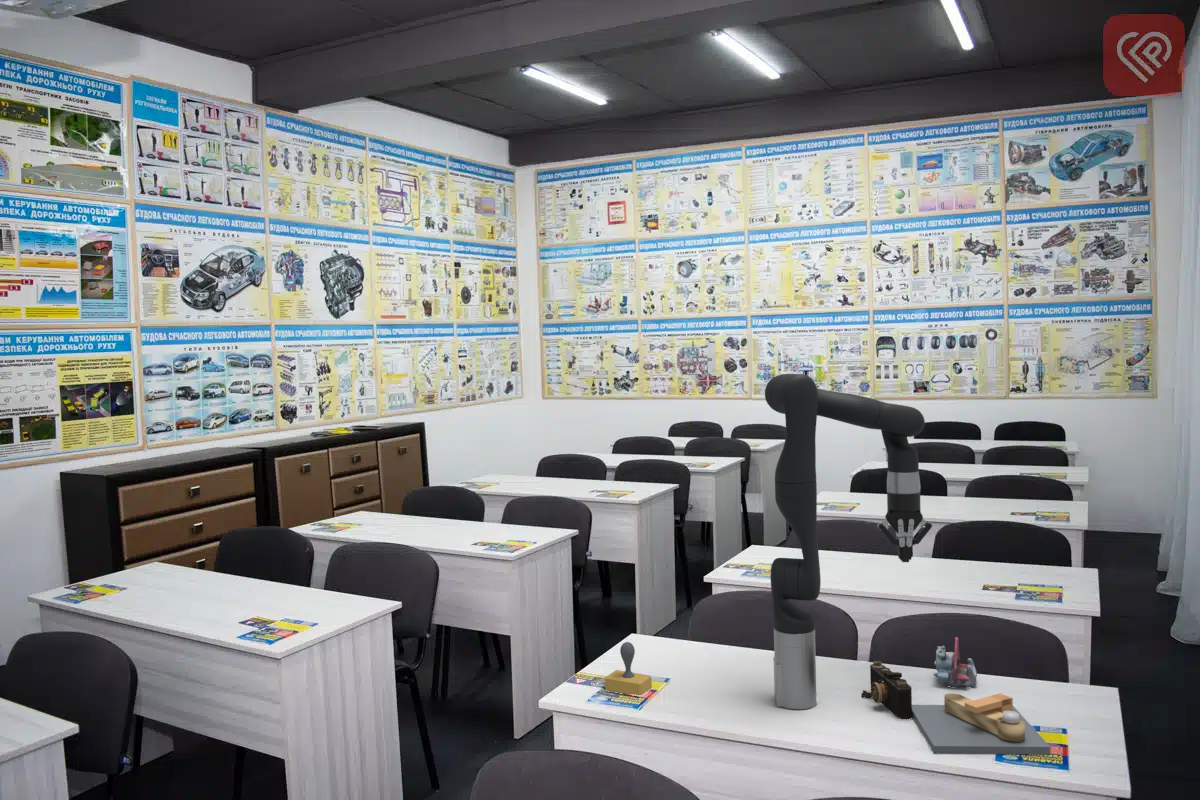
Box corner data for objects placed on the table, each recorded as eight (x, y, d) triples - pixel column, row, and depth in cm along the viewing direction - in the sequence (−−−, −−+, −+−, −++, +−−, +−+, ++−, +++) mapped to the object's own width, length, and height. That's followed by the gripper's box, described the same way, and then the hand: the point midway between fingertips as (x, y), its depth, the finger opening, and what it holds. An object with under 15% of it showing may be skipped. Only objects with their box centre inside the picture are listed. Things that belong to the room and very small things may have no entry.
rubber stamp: (652, 690, 218) (650, 641, 218) (641, 698, 213) (639, 648, 213) (616, 684, 223) (614, 636, 223) (604, 692, 218) (603, 643, 218)
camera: (856, 693, 212) (855, 660, 211) (883, 691, 212) (883, 657, 212) (887, 721, 195) (886, 685, 195) (916, 719, 196) (916, 683, 196)
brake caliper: (987, 684, 208) (952, 640, 210) (947, 708, 212) (913, 664, 214) (988, 668, 218) (955, 626, 221) (949, 690, 222) (917, 649, 225)
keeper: (1001, 718, 191) (1000, 693, 191) (1013, 723, 188) (1012, 697, 188) (965, 728, 187) (964, 702, 186) (976, 734, 184) (976, 707, 184)
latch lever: (1030, 738, 180) (1030, 723, 180) (1012, 743, 178) (1011, 728, 178) (956, 705, 198) (956, 691, 198) (938, 709, 196) (938, 695, 196)
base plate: (934, 753, 179) (933, 721, 179) (908, 711, 200) (908, 682, 200) (1050, 754, 177) (1050, 721, 177) (1012, 711, 198) (1012, 682, 198)
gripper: (928, 486, 219) (929, 557, 220) (872, 488, 221) (873, 558, 221) (936, 491, 212) (937, 564, 213) (878, 492, 213) (879, 565, 214)
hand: (904, 561), depth 217 cm, fingers closed
